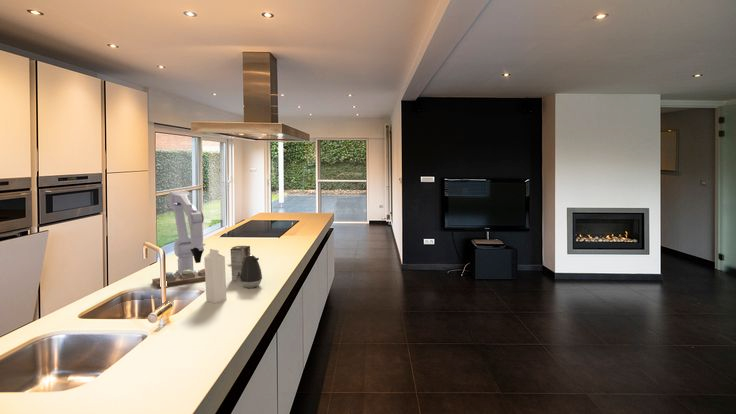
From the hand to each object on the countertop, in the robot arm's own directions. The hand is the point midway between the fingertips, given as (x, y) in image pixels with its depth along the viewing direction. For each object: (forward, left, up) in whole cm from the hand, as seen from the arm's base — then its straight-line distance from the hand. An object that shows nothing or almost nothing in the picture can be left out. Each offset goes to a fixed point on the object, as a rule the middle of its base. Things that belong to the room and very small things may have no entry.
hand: (197, 262), depth 224 cm
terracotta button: (0, +4, -6) cm, 7 cm away
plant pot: (-26, +32, -9) cm, 42 cm away
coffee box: (+13, +18, -9) cm, 24 cm away
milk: (+42, -4, -9) cm, 43 cm away
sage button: (0, -5, -5) cm, 7 cm away
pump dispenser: (+31, +16, -9) cm, 36 cm away
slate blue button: (0, -14, -5) cm, 15 cm away
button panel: (0, -5, -8) cm, 10 cm away
